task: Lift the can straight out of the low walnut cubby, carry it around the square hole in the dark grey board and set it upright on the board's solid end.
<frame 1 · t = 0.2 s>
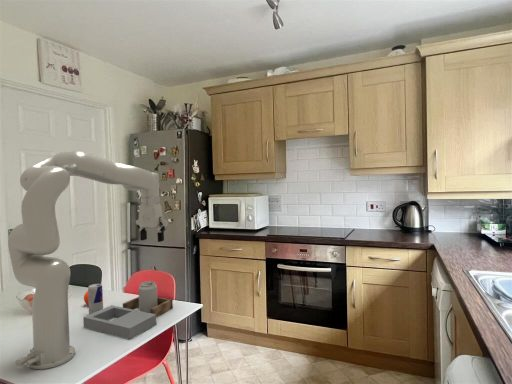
hand: (152, 240, 142), 29 cm above the table, tool pointing down, fingers open, 9 cm apart
energy drink: (96, 314, 137), on the table
can: (148, 311, 140), on the table
clementine: (92, 304, 148), on the table
hole board: (120, 326, 125), on the table
cubby: (147, 310, 139), on the table
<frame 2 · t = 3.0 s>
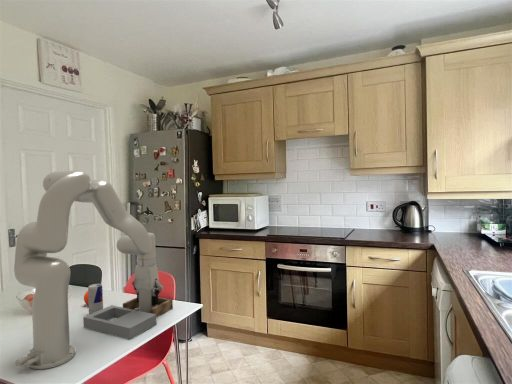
hand: (147, 303, 139), 3 cm above the table, tool pointing down, fingers closed on can, 7 cm apart
can: (148, 311, 140), on the table, touching gripper
everything else where it was.
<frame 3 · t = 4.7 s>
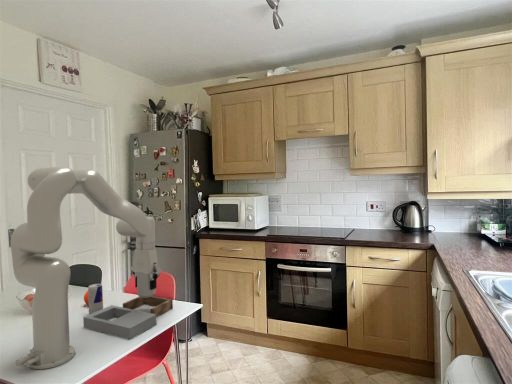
hand: (145, 287, 138), 10 cm above the table, tool pointing down, fingers closed on can, 7 cm apart
can: (146, 295, 139), point 7 cm above the table, touching gripper
everything else where it was.
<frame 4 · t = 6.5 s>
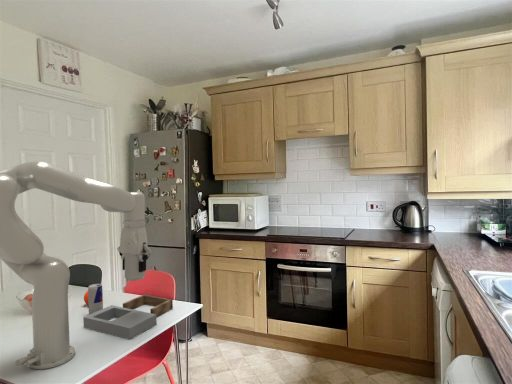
hand: (134, 270, 126), 21 cm above the table, tool pointing down, fingers closed on can, 7 cm apart
can: (135, 279, 126), point 18 cm above the table, touching gripper
everything else where it was.
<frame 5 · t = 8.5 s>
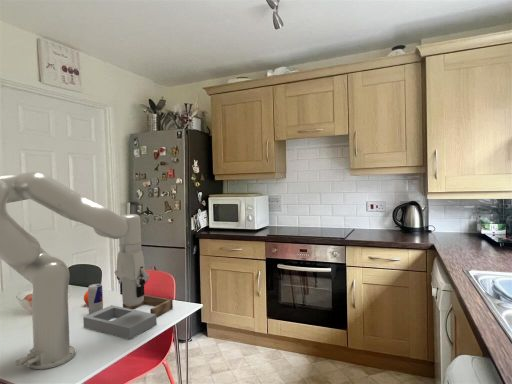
hand: (132, 294, 122), 13 cm above the table, tool pointing down, fingers closed on can, 7 cm apart
can: (133, 303, 122), point 9 cm above the table, touching gripper
everything else where it was.
when the fingers open (9 cm above the table, at t = 9.9 s): can drops 1 cm, resting on hole board.
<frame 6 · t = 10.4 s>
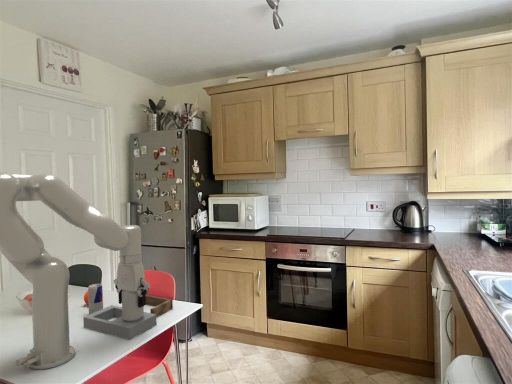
hand: (132, 304, 122), 9 cm above the table, tool pointing down, fingers open, 9 cm apart
can: (133, 318, 122), point 4 cm above the table, touching hole board
everything else where it was.
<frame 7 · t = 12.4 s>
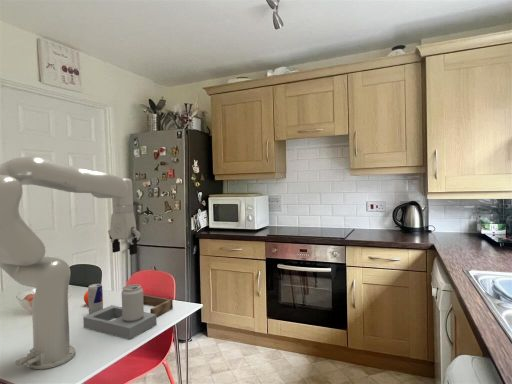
hand: (124, 252, 129), 27 cm above the table, tool pointing down, fingers open, 9 cm apart
nothing on the table moved.
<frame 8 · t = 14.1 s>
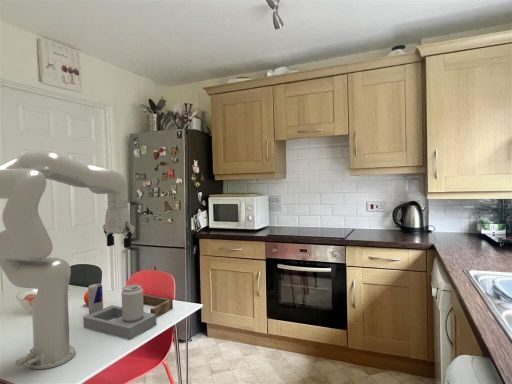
hand: (118, 246, 136), 28 cm above the table, tool pointing down, fingers open, 9 cm apart
nothing on the table moved.
at the end: can 0.2 cm from the target spot on the hole board, point 3.8 cm above the hole board's base; can tilted 0°; the gripper is holding nothing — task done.
